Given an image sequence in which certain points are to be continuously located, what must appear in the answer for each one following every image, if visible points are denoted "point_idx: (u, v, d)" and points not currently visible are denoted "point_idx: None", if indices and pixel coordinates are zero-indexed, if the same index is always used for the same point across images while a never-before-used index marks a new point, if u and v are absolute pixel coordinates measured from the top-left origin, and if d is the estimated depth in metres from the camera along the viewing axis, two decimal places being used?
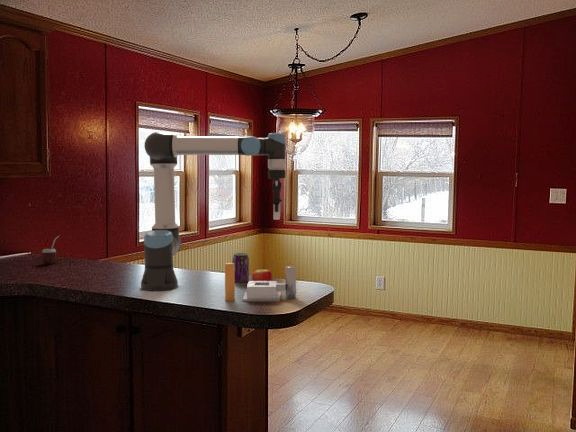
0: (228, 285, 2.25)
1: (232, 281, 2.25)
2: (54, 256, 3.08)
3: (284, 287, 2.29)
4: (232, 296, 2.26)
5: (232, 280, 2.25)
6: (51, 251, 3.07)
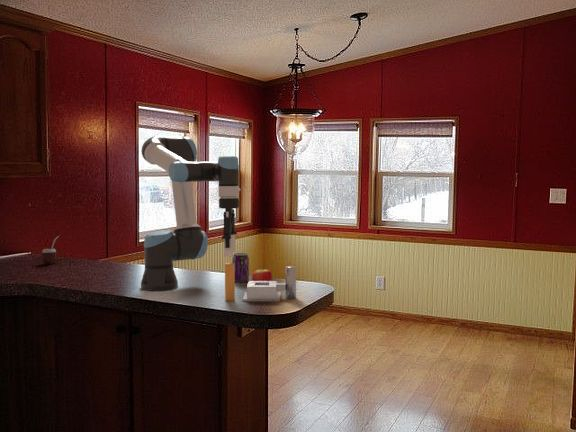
0: (228, 285, 2.25)
1: (232, 281, 2.25)
2: (54, 256, 3.08)
3: (284, 287, 2.29)
4: (232, 296, 2.26)
5: (232, 280, 2.25)
6: (51, 251, 3.07)
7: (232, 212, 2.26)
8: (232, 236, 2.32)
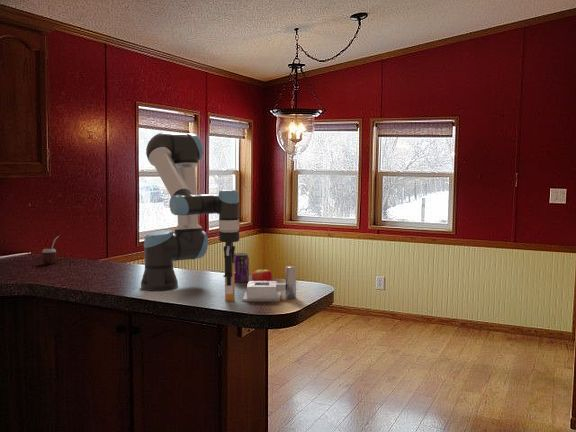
0: None
1: None
2: (54, 256, 3.08)
3: (284, 287, 2.29)
4: (232, 296, 2.26)
5: None
6: (51, 251, 3.07)
7: (232, 243, 2.27)
8: None
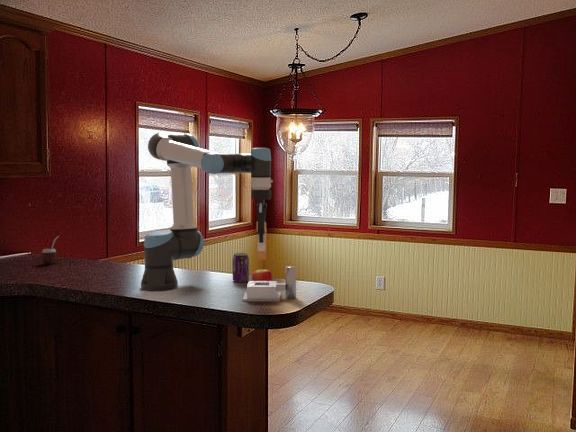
0: None
1: None
2: (54, 256, 3.08)
3: (284, 287, 2.29)
4: (264, 254, 2.28)
5: None
6: (51, 251, 3.07)
7: (264, 201, 2.30)
8: None
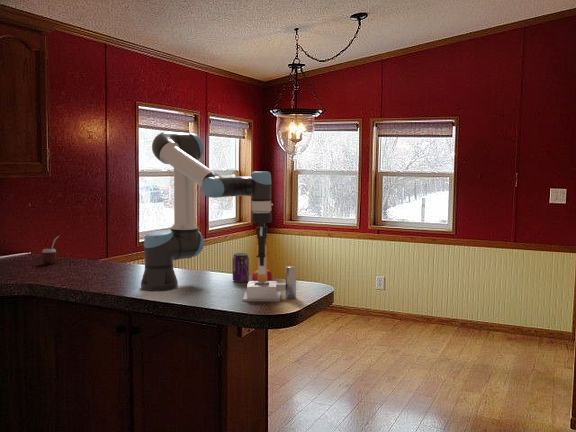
0: None
1: None
2: (54, 256, 3.08)
3: (284, 287, 2.29)
4: (265, 277, 2.29)
5: None
6: (51, 251, 3.07)
7: None
8: None
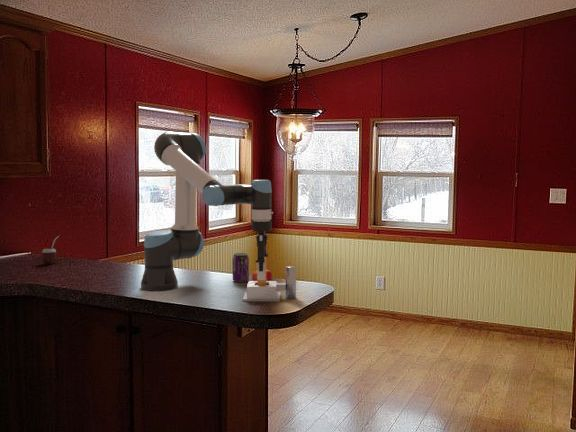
0: None
1: None
2: (54, 256, 3.08)
3: (284, 287, 2.29)
4: None
5: None
6: (51, 251, 3.07)
7: (264, 234, 2.30)
8: (263, 258, 2.36)
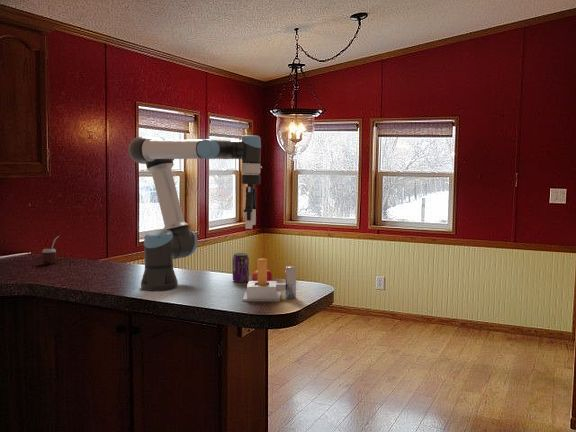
0: (261, 280, 2.29)
1: (264, 276, 2.29)
2: (54, 256, 3.08)
3: (284, 287, 2.29)
4: None
5: (265, 275, 2.29)
6: (51, 251, 3.07)
7: None
8: (253, 210, 2.50)
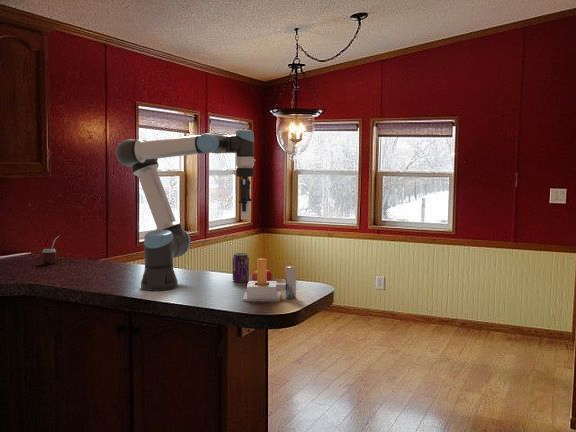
0: (261, 280, 2.29)
1: (264, 276, 2.29)
2: (54, 256, 3.08)
3: (284, 287, 2.29)
4: None
5: (264, 275, 2.29)
6: (51, 251, 3.07)
7: None
8: (247, 202, 2.59)
